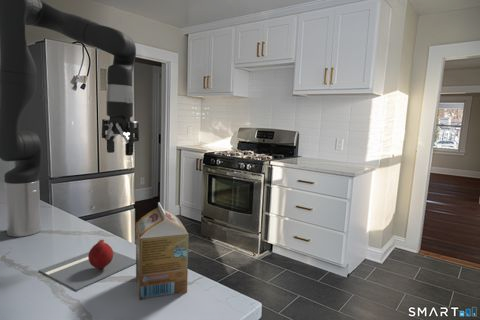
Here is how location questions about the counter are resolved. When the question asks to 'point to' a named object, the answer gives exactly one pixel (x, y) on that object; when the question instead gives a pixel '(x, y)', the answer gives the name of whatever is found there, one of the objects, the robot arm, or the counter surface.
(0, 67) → the robot arm
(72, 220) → the counter surface
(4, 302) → the counter surface
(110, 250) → the onion
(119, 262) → the mat
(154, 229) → the milk carton
